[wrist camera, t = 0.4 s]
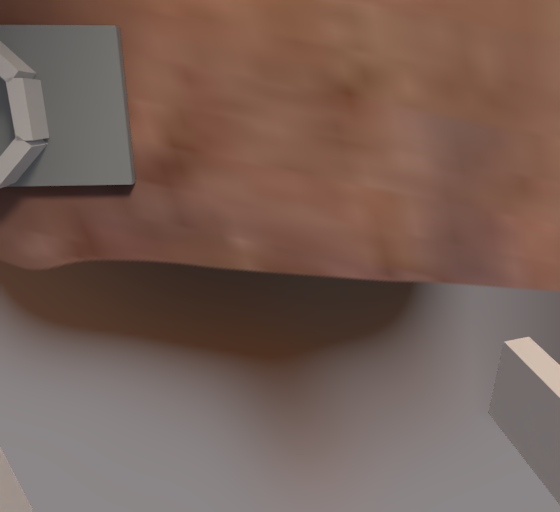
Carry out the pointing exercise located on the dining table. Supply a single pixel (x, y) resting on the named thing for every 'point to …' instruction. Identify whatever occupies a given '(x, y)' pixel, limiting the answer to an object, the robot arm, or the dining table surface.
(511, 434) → the robot arm
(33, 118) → the socket plate
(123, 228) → the dining table surface
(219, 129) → the dining table surface
